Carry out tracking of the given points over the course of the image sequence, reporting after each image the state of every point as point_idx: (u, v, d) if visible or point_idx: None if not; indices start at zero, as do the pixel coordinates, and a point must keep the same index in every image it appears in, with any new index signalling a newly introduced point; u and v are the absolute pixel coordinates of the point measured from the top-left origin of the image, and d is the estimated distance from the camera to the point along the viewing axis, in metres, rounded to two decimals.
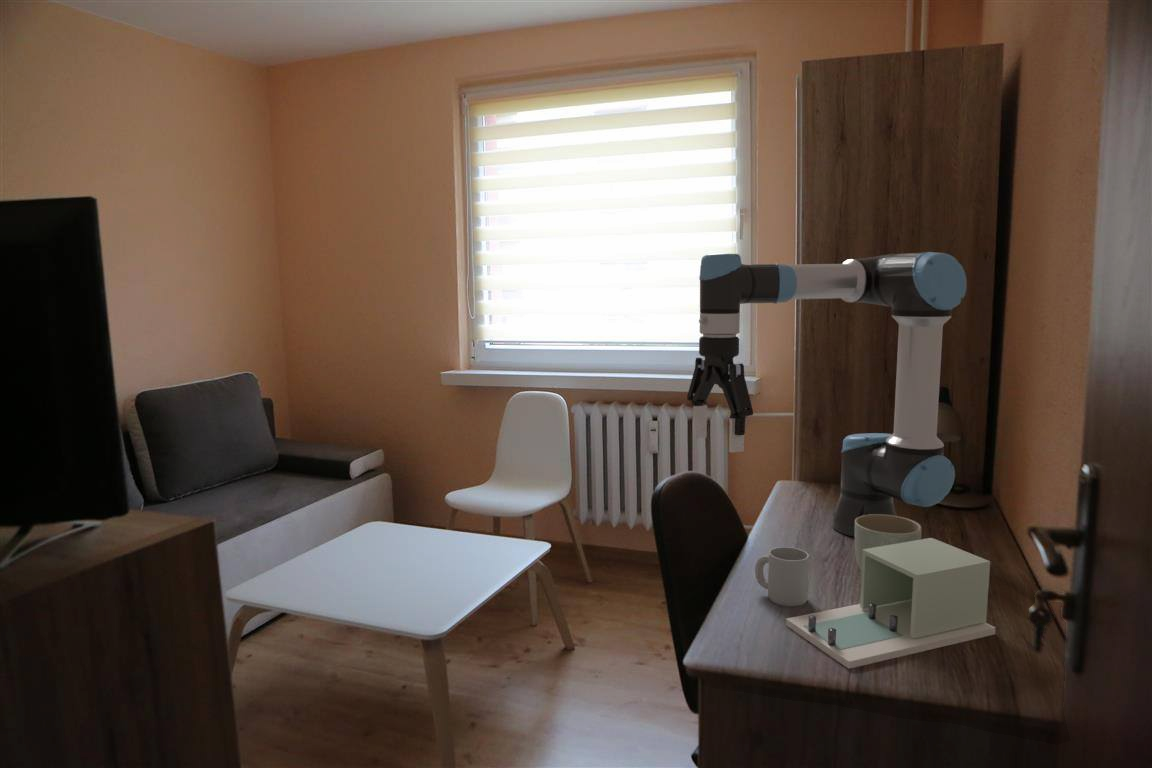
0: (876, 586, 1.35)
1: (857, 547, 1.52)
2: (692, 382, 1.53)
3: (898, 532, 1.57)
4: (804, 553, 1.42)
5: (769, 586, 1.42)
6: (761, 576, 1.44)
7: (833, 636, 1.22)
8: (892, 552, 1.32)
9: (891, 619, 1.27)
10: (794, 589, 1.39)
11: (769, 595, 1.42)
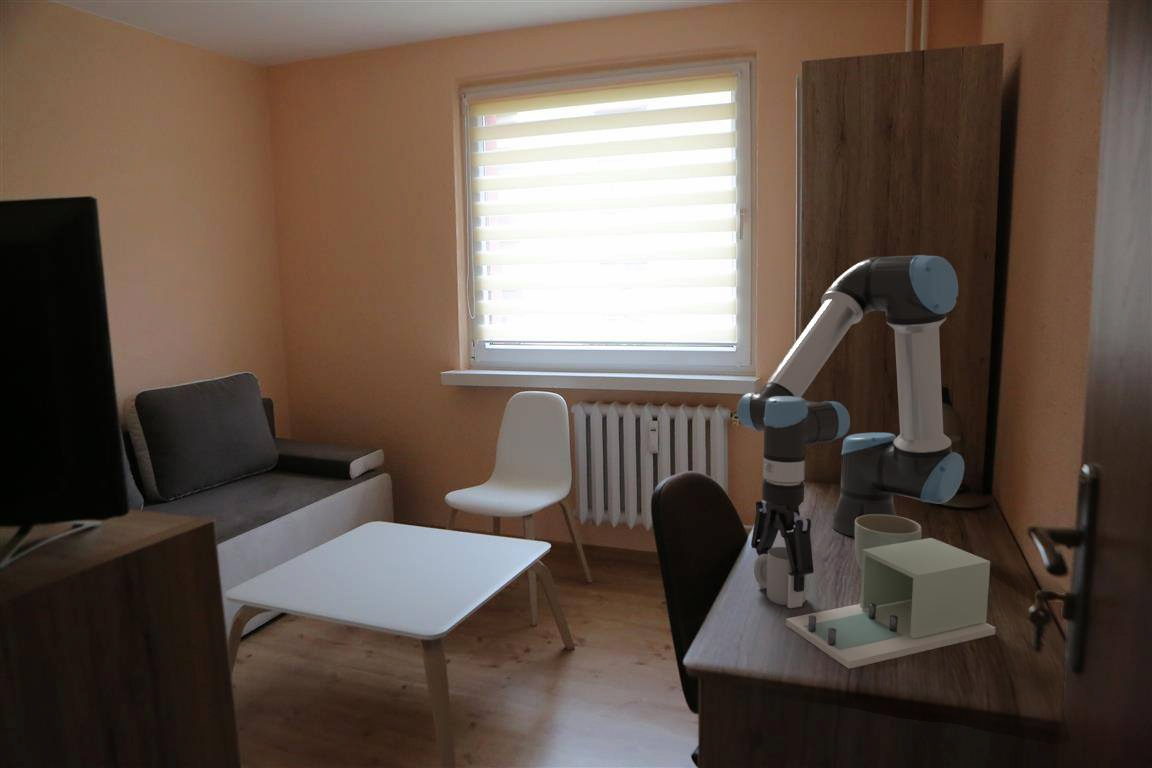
0: (876, 586, 1.35)
1: (857, 547, 1.52)
2: (755, 528, 1.48)
3: (898, 532, 1.57)
4: None
5: (768, 585, 1.42)
6: (760, 575, 1.45)
7: (833, 636, 1.22)
8: (892, 552, 1.32)
9: (891, 619, 1.27)
10: None
11: (768, 594, 1.43)
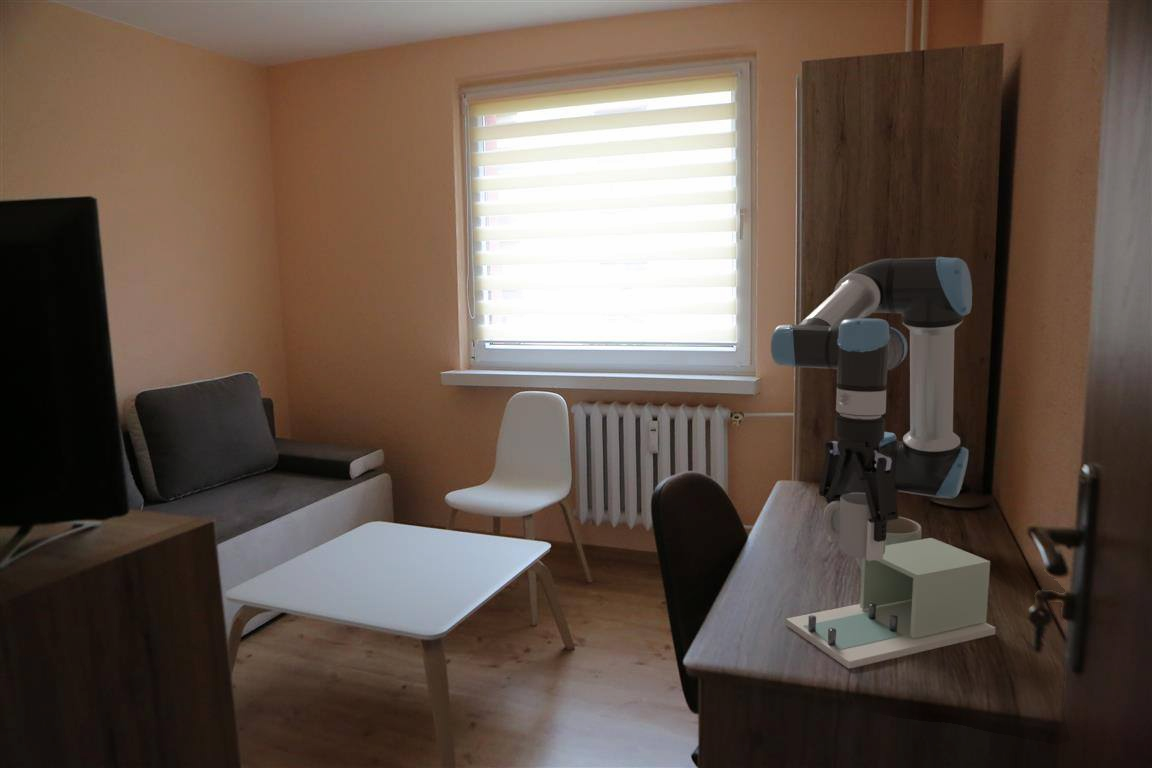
0: (876, 586, 1.35)
1: None
2: (824, 472, 1.30)
3: (898, 532, 1.57)
4: None
5: (841, 536, 1.24)
6: (831, 525, 1.27)
7: (833, 636, 1.22)
8: (892, 552, 1.32)
9: (891, 619, 1.27)
10: None
11: (841, 546, 1.25)
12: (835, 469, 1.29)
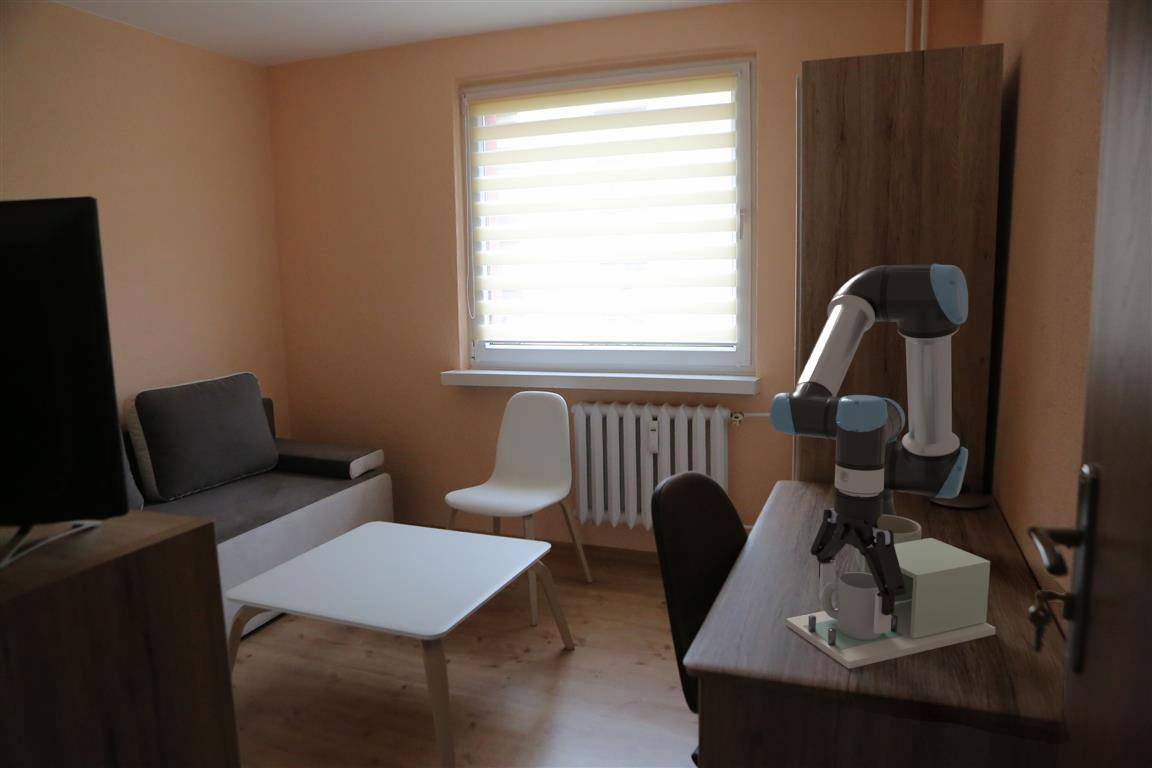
0: None
1: None
2: (819, 535, 1.32)
3: (898, 532, 1.57)
4: None
5: (839, 617, 1.26)
6: (829, 604, 1.29)
7: (833, 636, 1.22)
8: None
9: (891, 619, 1.27)
10: (869, 620, 1.23)
11: (839, 627, 1.26)
12: (830, 534, 1.32)
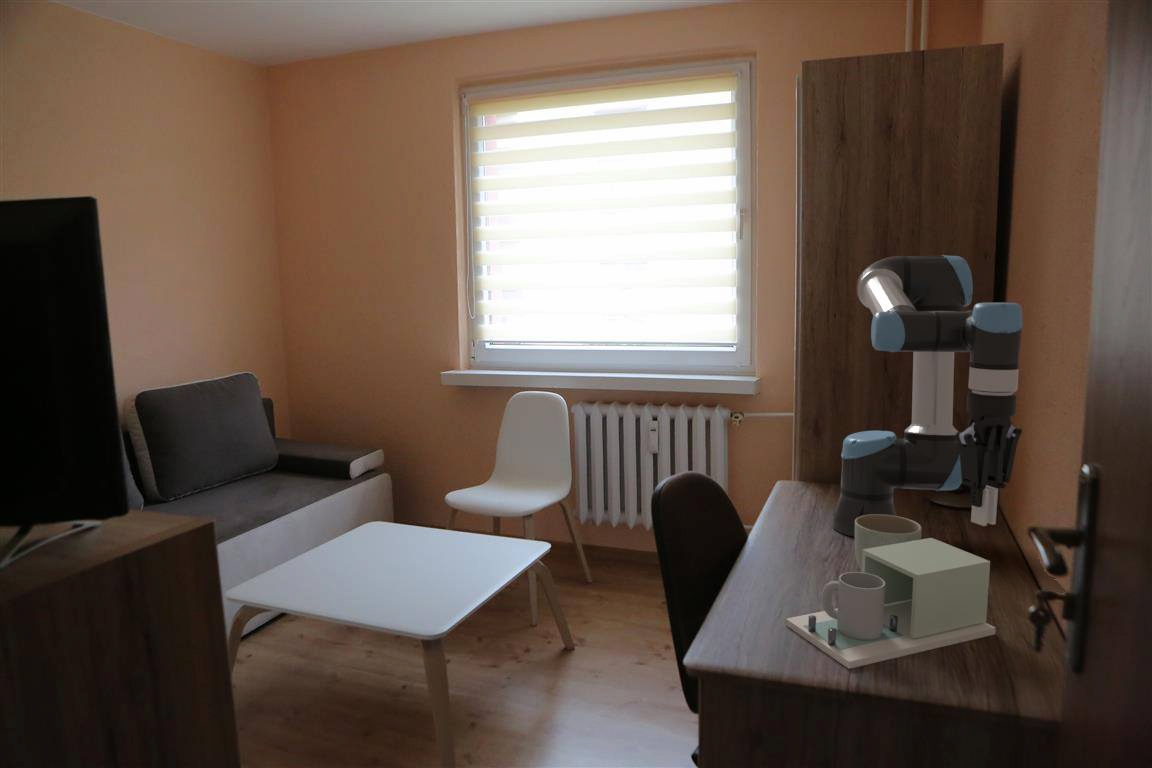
0: None
1: (857, 547, 1.52)
2: None
3: (898, 532, 1.57)
4: (878, 579, 1.27)
5: (839, 617, 1.26)
6: (829, 604, 1.29)
7: (833, 636, 1.22)
8: (892, 552, 1.32)
9: (891, 619, 1.27)
10: (869, 620, 1.23)
11: (839, 627, 1.26)
12: (1006, 453, 1.34)
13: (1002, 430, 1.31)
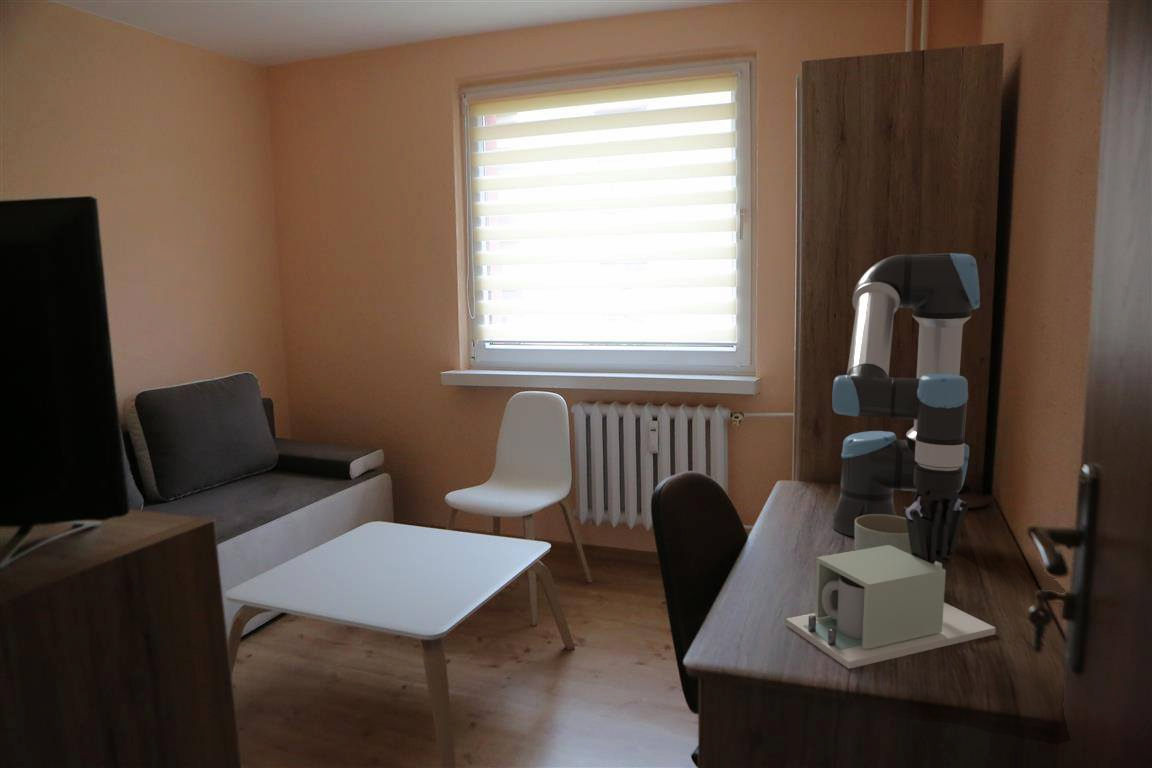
0: None
1: (857, 547, 1.52)
2: None
3: (898, 532, 1.57)
4: None
5: (839, 617, 1.26)
6: (829, 604, 1.29)
7: (833, 636, 1.22)
8: (846, 560, 1.29)
9: None
10: None
11: (839, 627, 1.26)
12: (952, 526, 1.32)
13: (948, 504, 1.29)
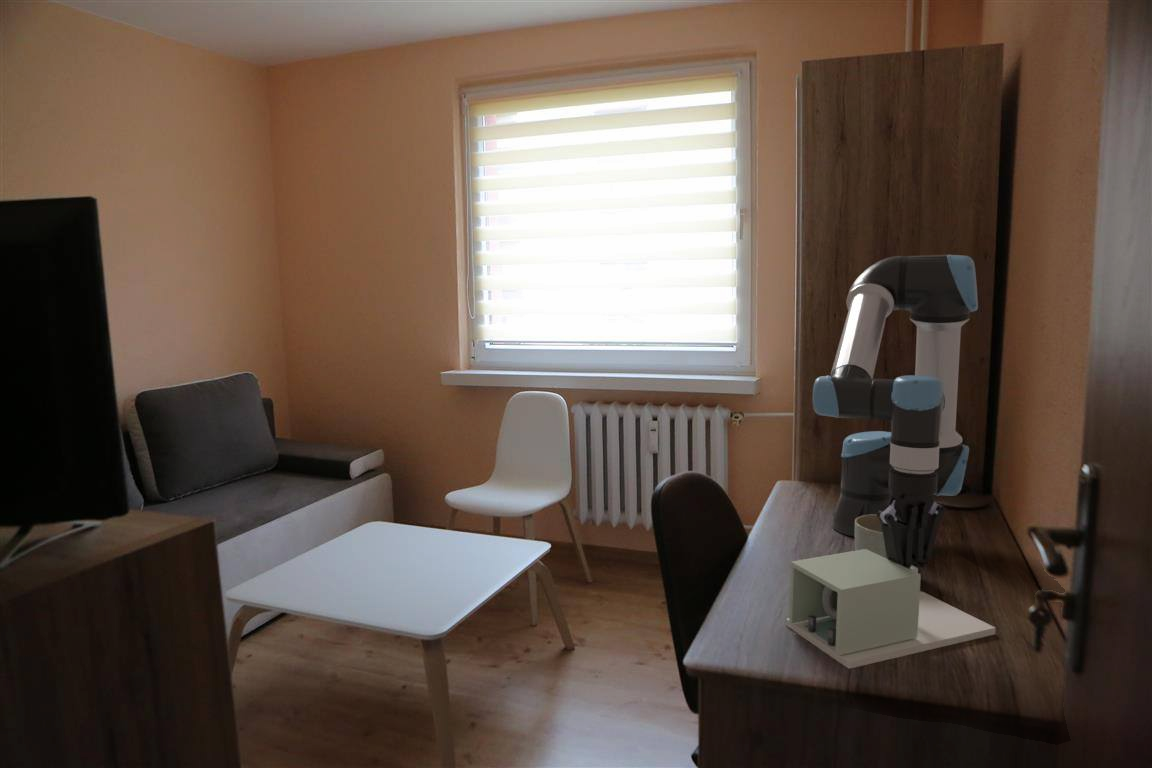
0: (806, 599, 1.30)
1: (857, 547, 1.52)
2: None
3: None
4: None
5: None
6: (829, 604, 1.29)
7: (833, 636, 1.22)
8: (821, 564, 1.27)
9: None
10: None
11: None
12: (928, 530, 1.30)
13: (924, 508, 1.27)
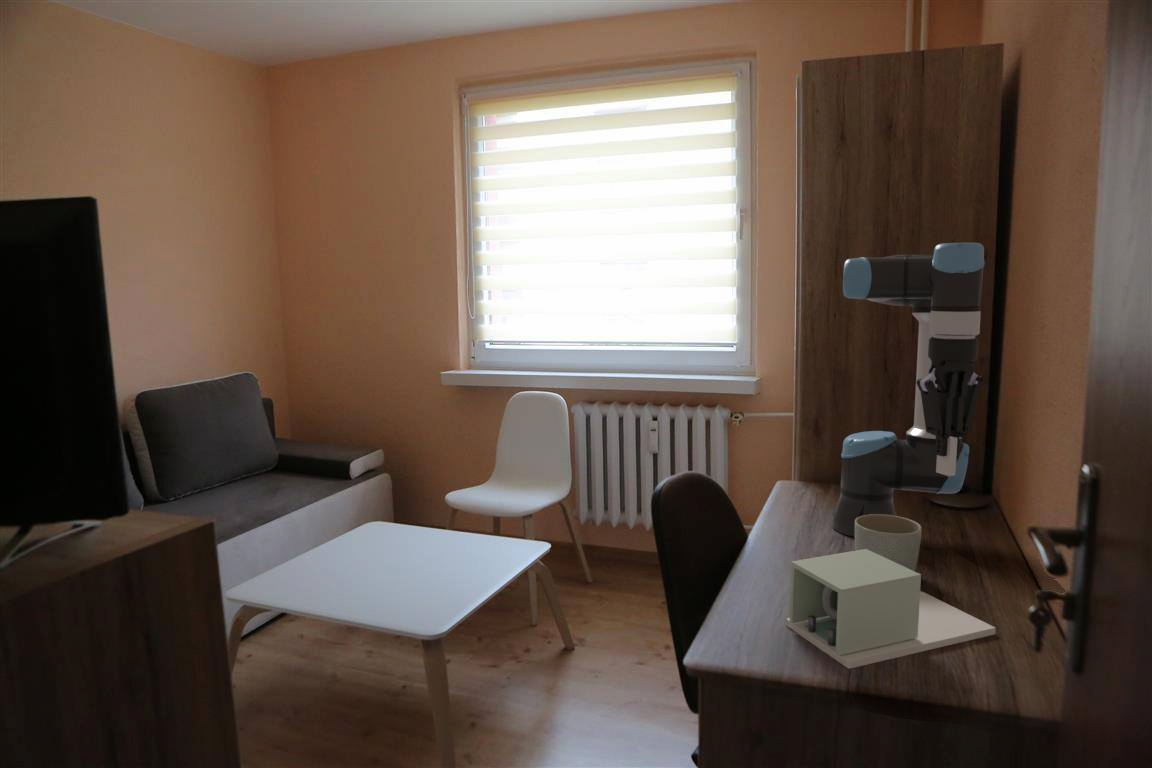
0: (806, 599, 1.30)
1: (857, 547, 1.52)
2: None
3: (898, 532, 1.57)
4: None
5: None
6: (829, 604, 1.29)
7: (833, 636, 1.22)
8: (821, 564, 1.27)
9: None
10: None
11: None
12: (967, 401, 1.29)
13: (964, 376, 1.26)
